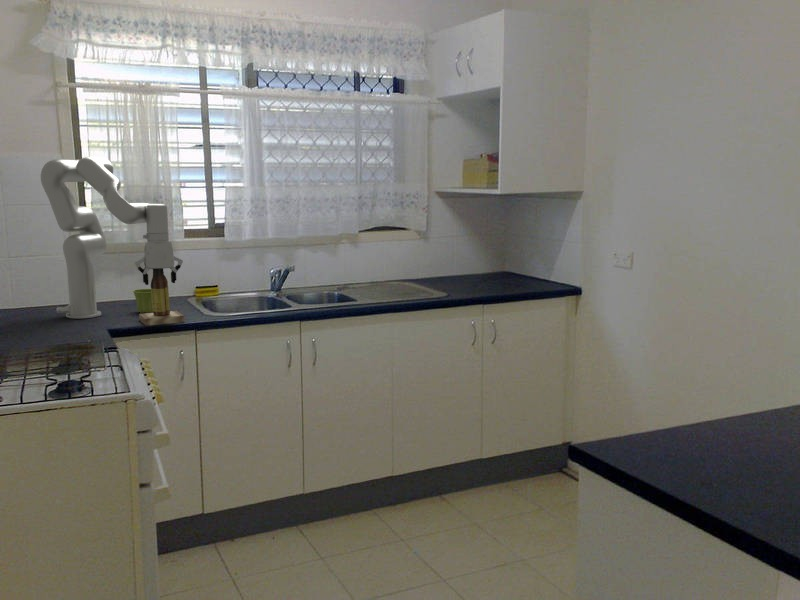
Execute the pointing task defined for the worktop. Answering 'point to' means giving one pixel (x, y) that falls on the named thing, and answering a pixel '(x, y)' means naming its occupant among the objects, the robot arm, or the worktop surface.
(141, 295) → the plant pot
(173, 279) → the robot arm
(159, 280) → the sauce bottle
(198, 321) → the worktop surface
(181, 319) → the board
